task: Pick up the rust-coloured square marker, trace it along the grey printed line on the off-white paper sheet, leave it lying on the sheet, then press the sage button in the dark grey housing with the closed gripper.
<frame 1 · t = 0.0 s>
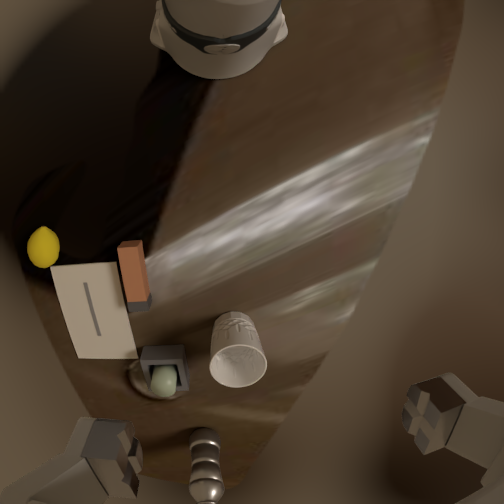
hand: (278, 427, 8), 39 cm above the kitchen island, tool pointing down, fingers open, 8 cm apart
done button: (164, 378, 48), point 4 cm above the kitchen island, slide at 0.0 cm
white cup: (233, 327, 52), on the kitchen island
paper: (94, 314, 48), on the kitchen island
plastic bottle: (204, 432, 60), on the kitchen island
lemon: (51, 241, 43), on the kitchen island
button housing: (167, 361, 53), on the kitchen island
marker: (137, 272, 47), on the kitchen island
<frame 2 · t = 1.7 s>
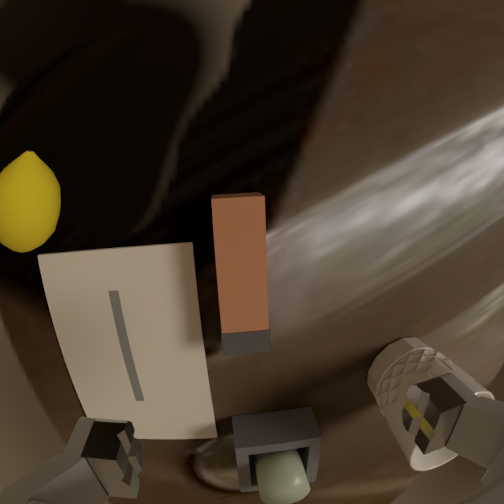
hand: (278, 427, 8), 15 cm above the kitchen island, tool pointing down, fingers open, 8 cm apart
done button: (280, 472, 22), point 4 cm above the kitchen island, slide at 0.0 cm
white cup: (397, 366, 27), on the kitchen island
paper: (130, 359, 23), on the kitchen island
lemon: (43, 199, 20), on the kitchen island
button housing: (271, 437, 27), on the kitchen island
marker: (239, 267, 22), on the kitchen island
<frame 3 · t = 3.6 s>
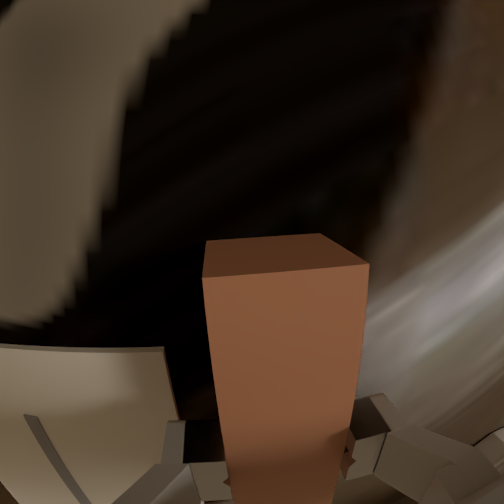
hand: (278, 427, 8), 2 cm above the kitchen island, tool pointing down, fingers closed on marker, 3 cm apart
white cup: (474, 461, 14), on the kitchen island
paper: (85, 496, 10), on the kitchen island
marker: (269, 391, 10), on the kitchen island, touching gripper
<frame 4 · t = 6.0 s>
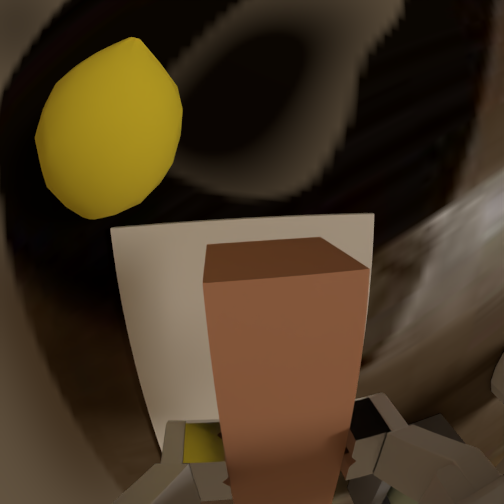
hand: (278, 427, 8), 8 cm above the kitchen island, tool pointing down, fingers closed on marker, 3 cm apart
done button: (416, 492, 16), point 5 cm above the kitchen island, slide at 0.0 cm
paper: (252, 385, 16), on the kitchen island
lemon: (128, 135, 13), on the kitchen island
button housing: (393, 454, 20), on the kitchen island
marker: (269, 394, 10), point 6 cm above the kitchen island, touching gripper
when the fingers open (2 cm above the kitchen island, at t = 8.8 s): marker stays where it is, resting on paper.
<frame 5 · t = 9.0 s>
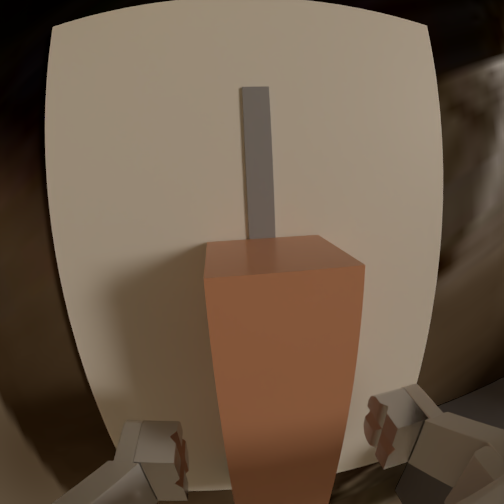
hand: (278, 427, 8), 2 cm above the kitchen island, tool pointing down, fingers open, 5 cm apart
paper: (263, 300, 9), on the kitchen island
button housing: (459, 435, 13), on the kitchen island
marker: (268, 390, 10), resting on paper
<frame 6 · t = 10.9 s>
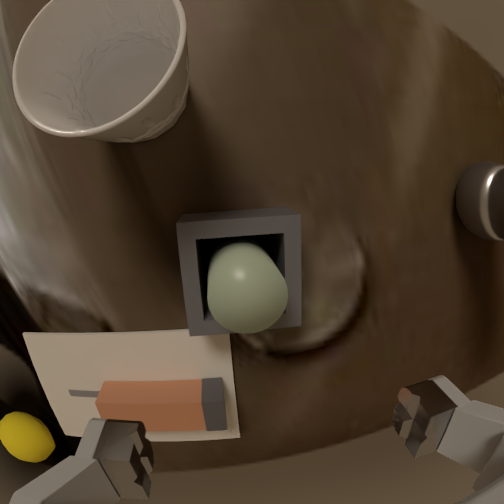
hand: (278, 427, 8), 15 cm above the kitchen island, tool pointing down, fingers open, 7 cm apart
done button: (243, 281, 18), point 4 cm above the kitchen island, slide at 0.0 cm
white cup: (140, 96, 19), on the kitchen island
paper: (130, 392, 24), on the kitchen island
plastic bottle: (469, 196, 24), on the kitchen island
lemon: (34, 420, 24), on the kitchen island
button housing: (237, 260, 23), on the kitchen island
marker: (163, 394, 24), resting on paper
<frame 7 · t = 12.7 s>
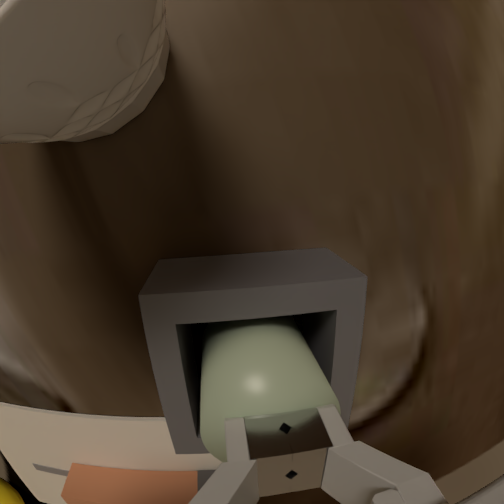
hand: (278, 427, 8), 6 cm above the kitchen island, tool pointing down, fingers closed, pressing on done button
done button: (260, 380, 10), point 4 cm above the kitchen island, slide at -0.7 cm, touching gripper
white cup: (94, 67, 11), on the kitchen island
paper: (106, 475, 16), on the kitchen island
lemon: (3, 480, 16), on the kitchen island
button housing: (248, 330, 14), on the kitchen island
marker: (148, 483, 16), resting on paper
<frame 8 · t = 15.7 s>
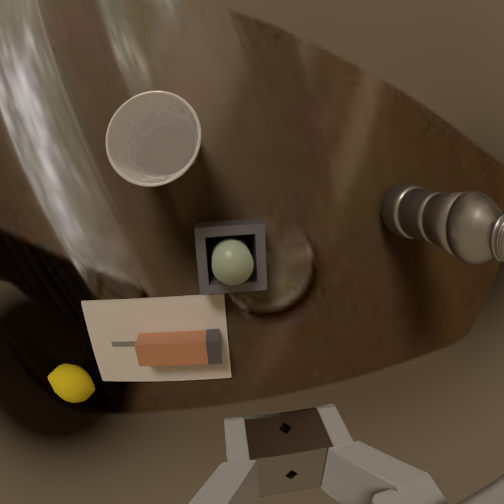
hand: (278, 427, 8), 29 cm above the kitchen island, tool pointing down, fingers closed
done button: (231, 258, 33), point 3 cm above the kitchen island, slide at -1.1 cm
white cup: (169, 147, 33), on the kitchen island
paper: (156, 341, 38), on the kitchen island
plastic bottle: (395, 208, 38), on the kitchen island
lemon: (77, 372, 38), on the kitchen island
button housing: (229, 250, 37), on the kitchen island
marker: (180, 342, 38), resting on paper
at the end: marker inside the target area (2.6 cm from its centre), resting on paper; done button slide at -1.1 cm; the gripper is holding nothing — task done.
